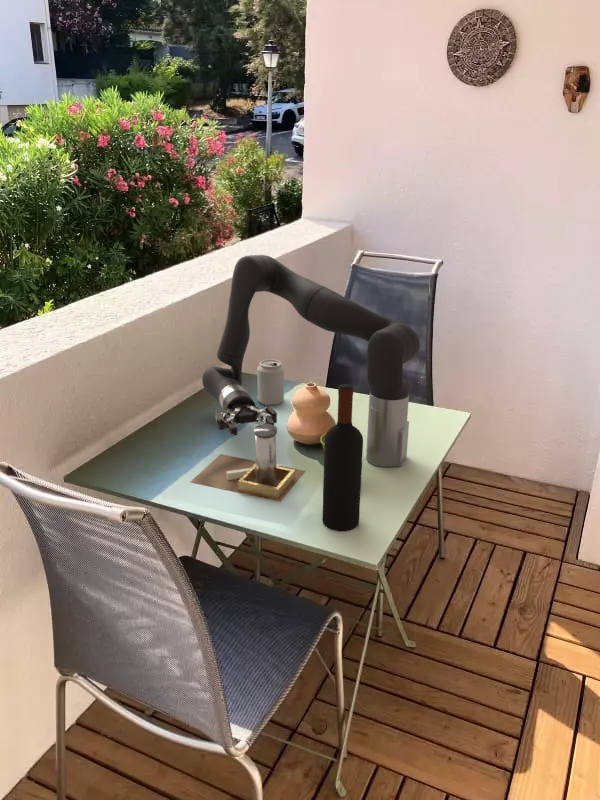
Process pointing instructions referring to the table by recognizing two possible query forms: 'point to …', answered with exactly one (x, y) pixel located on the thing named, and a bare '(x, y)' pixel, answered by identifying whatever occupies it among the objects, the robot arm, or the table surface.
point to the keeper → (266, 490)
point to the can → (270, 382)
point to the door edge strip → (241, 473)
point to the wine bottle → (342, 468)
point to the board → (217, 478)
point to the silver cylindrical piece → (266, 454)
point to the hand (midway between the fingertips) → (253, 429)
